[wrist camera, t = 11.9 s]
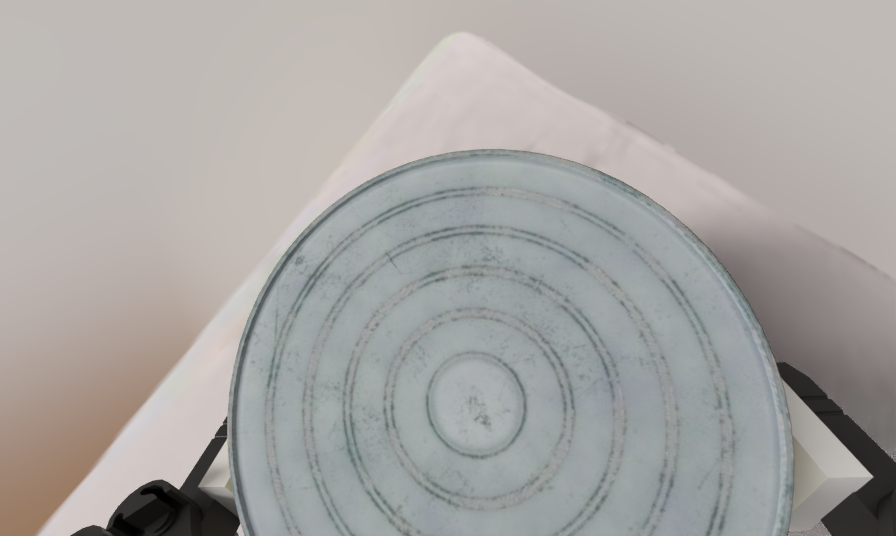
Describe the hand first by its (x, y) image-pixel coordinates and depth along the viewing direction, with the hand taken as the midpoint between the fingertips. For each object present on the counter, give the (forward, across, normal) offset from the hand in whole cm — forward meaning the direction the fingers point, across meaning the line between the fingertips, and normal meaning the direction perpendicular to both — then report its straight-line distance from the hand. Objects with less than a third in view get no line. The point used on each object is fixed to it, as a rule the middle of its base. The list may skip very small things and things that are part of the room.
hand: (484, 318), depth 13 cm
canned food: (+3, 0, -5) cm, 6 cm away
